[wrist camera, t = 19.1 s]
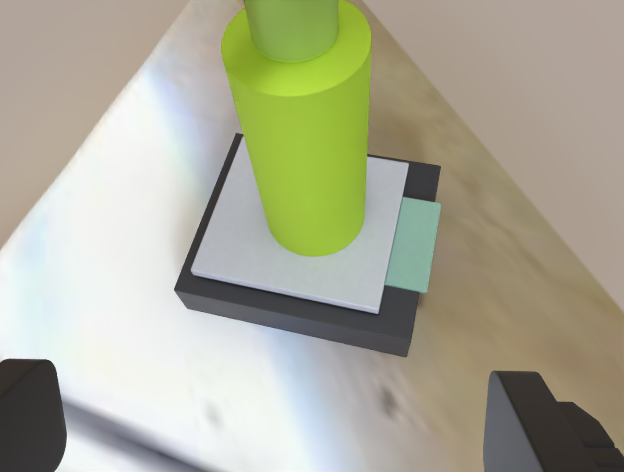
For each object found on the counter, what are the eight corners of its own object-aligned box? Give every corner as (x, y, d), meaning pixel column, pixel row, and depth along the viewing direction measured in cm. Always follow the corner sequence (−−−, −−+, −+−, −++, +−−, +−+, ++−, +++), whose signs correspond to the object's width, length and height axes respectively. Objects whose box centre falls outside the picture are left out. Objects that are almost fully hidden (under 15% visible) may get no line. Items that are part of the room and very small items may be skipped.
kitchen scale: (440, 192, 37) (450, 156, 34) (412, 359, 32) (420, 337, 28) (243, 159, 40) (232, 122, 36) (186, 308, 35) (167, 282, 31)
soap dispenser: (234, 230, 32) (95, -129, 15) (311, 157, 35) (269, -230, 17) (308, 289, 30) (247, -50, 13) (384, 207, 32) (422, -177, 15)
